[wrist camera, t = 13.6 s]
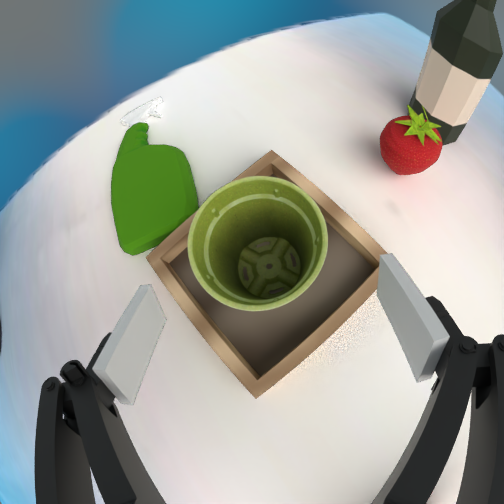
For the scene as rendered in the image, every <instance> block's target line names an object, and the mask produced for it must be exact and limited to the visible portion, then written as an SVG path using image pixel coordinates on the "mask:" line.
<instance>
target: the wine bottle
mask: <svg viewBox="0 0 504 504" xmlns="http://www.w3.org/2000/svg"><path fill="white" fill-rule="evenodd" d="M495 4H496V0H454V1H453V2H451V3H449V4H448V5H446V6H445V7H443V8H441V9H440V10H438V11H437V14H436V18H435V22H434V26H433V30H432V34H431V38H430V42H429V45H428V49H427V52H426V56H425V59H424V62H423V66H422V69H421V72H420V75H419V78H418V81H417V84H416V87H415V90H414V93H413V96H412V99H411V102H410V104H409V106H410V107H411V108H412V110H413V111H414V112H415V113H416V114H417V115H420V114H421V113H423V116H424V119H425V120H427V118H428V121H429V122H431V123H434V124H437V125H439V126H441V127H438V128H436V129H437V131H438V132H439V134H440V136H441V138H442V146H443V145H446V144H449V143H452V142H455V141H456V140H457V138H458V137H459V135H460V133H461V132H462V130H463V129H464V127H465V125H466V124H467V122H468V120H469V119H470V117H471V115H472V113H473V112H474V110H475V108H476V106H477V105H478V103H479V101H480V99H481V97H482V95H483V94H484V92H485V90H486V88H487V86H488V84H489V82H490V80H491V78H492V76H493V74H494V72H495V70H496V68H497V66H498V64H499V61H500V59H501V57H502V54H503V53H502V47H501V43H500V38H499V34H498V30H497V25H496V21H495V18H494V14H493V11H494V7H495ZM422 106H423V107H424V110H425V112H426V115H427V118H426V115H425V112H424V110H423V107H422ZM408 116H409V111H408Z"/></svg>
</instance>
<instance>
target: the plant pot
mask: <svg viewBox="0 0 504 504" xmlns="http://www.w3.org/2000/svg"><path fill="white" fill-rule="evenodd" d="M263 242H270V244H269V245H265V246H261V247H259V248H257V245H258V244H261V243H263ZM327 248H328V233H327V227H326V223H325V220H324V217H323V215H322V213H321V211H320V209H319V207H318V206H317V204H316V203H315V201H314V200H313V199H312V198H311V197H310V196H309V195H308V194H307V193H306V192H305V191H304V190H302V189H301V188H300V187H298V186H296V185H295V184H293V183H291V182H289V181H286V180H283V179H280V178H275V177H268V176H251V177H246V178H242V179H239V180H235V181H233V182H230V183H228V184H226V185H225V186H223V187H221V188H219V189H218V190H216V191H215V192H214V193H213V194H211V195H210V196H209V197H208V198H207V200H206V201H205V202H204V203H203V204H202V205H201V207H200V208H199V209H198V211H197V213H196V215H195V217H194V219H193V221H192V223H191V226H190V230H189V235H188V257H189V261H190V265H191V268H192V270H193V273H194V275H195V277H196V278H197V280H198V282H199V283H200V284H201V286H202V287H203V288H204V289H205V290H206V291H207V292H208V293H209V294H210V295H211V296H212V297H214V298H215V299H216V300H218V301H219V302H221V303H223V304H225V305H227V306H230V307H232V308H235V309H239V310H245V311H264V310H270V309H274V308H277V307H280V306H283V305H285V304H287V303H289V302H291V301H293V300H294V299H296V298H297V297H298V296H300V295H301V294H302V293H303V292H304V291H306V290H307V289H308V288H309V287H310V285H311V284H312V283H313V282H314V280H315V279H316V277H317V276H318V274H319V272H320V271H321V268H322V266H323V264H324V261H325V258H326V255H327ZM290 253H291V254H292V255H293V256H294V257H295V260H296V267H293V263H292V259H291V256H290ZM267 264H271V265H272V268H271V269H267V267H266V266H267ZM244 267H246V270H247V275H248V277H249V280H248V281H247V280H245V278H244V274H243V268H244ZM281 287H283V290H282V291H280V292H277V293H275V294H271V293H269V291H271V290H276V289H279V288H281Z"/></svg>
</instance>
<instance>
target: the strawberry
mask: <svg viewBox="0 0 504 504" xmlns="http://www.w3.org/2000/svg"><path fill="white" fill-rule="evenodd" d="M407 107H408V111H409V116H401V117H398V118H395V119H393V120H391V121H390V122H389V123H388V124H387V125H386V126H385V128H384V130H383V131H382V133H381V135H380V149H381V155H382V158H383V159H384V161H385V162H386V164H387V165H388V166H389V167H390V169H391V170H393V171H394V172H395V173H396V174H399V175H410V174H416V173H420V172H422V171H424V170H426V169H427V168H428V167H430V166H431V165H433V164H434V163H435V162H436V161H437V160H438V158H439V156H440V153H441V149H442V138H441V136H440V134H439V132H438V131H437V129H436V128H438V127H441V126H439V125H437V124H434V123H431V122H429V121H428V118H427V115H426V112H425V110H424V107H423V106H422V107H423V110H424V112H425V115H426V118H427V120H425V119H424V116H423V113H421V114H420V115H417V114H416V113H415V112H414V111H413V110H412V108H411V107H410V106H409V105H407Z"/></svg>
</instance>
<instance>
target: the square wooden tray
mask: <svg viewBox="0 0 504 504" xmlns="http://www.w3.org/2000/svg"><path fill="white" fill-rule="evenodd" d="M251 176H268V177H275V178H280V179H283V180H286V181H289V182H291V183H293V184H295V185H296V186H298V187H300V188H301V189H302V190H304V191H305V192H306V193H307V194H308V195H309V196H310V197H311V198H312V199H313V200H314V201H315V203H316V204H317V206H318V207H319V209H320V211H321V213H322V215H323V217H324V220H325V223H326V227H327V233H328V248H327V255H326V258H325V261H324V264H323V266H322V268H321V271H320V272H319V274H318V276H317V277H316V279H315V280H314V282H313V283H312V284H311V285H310V287H309V288H308V289H307V290H306V291H304V292H303V293H302V294H301V295H300V296H298V297H297V298H296V299H294V300H293V301H291V302H289V303H287V304H285V305H283V306H280V307H277V308H274V309H270V310H264V311H245V310H239V309H235V308H232V307H230V306H227V305H225V304H223V303H221V302H219V301H218V300H216V299H215V298H214V297H212V296H211V295H210V294H209V293H208V292H207V291H206V290H205V289H204V288H203V287H202V286H201V284H200V283H199V282H198V280H197V278H196V277H195V275H194V273H193V270H192V268H191V265H190V261H189V257H188V235H189V230H190V226H191V223H192V221H193V219H194V217H195V215H196V213H197V211H198V210H197V211H196V212H195V213H194V214H193V215H191V216H190V217H189V218H188V219H187V220H186V221H185V222H184V223H182V224H181V225H180V226H179V227H178V228H177V229H176V230H175V231H174V232H172V233H171V234H170V235H169V236H168V237H167V238H166V239H165V240H164V241H163V242H162V243H160V244H159V245H158V246H157V247H156V248H155V249H154V250H153V251H152V252H151V253H150V254H149V255H148V256H147V257H146V259H147V260H148V262H149V263H150V265H151V266H152V268H153V269H154V271H155V272H156V274H157V275H158V277H159V278H160V279H161V281H162V282H163V284H164V285H165V287H166V288H167V289H168V291H169V292H170V294H171V295H172V296H173V298H174V299H175V301H176V302H177V303H178V305H179V306H180V307H181V309H182V310H183V311H184V313H185V314H186V315H187V317H188V318H189V319H190V321H191V322H192V323H193V325H194V326H195V327H196V329H197V330H198V331H199V332H200V334H201V335H202V336H203V338H204V339H205V340H206V341H207V343H208V344H209V345H210V346H211V347H212V349H213V350H214V351H215V352H216V354H217V355H218V356H219V357H220V358H221V360H222V361H223V362H224V363H225V364H226V366H227V367H228V368H229V369H230V370H231V371H232V373H233V374H234V375H235V376H236V377H237V378H238V380H239V381H240V382H241V383H242V384H243V385H244V386H245V387H246V389H247V390H248V391H249V392H250V393H251V394H252V395H253V396H254V397H255V399H256V398H258V397H259V396H260V395H262V394H263V393H264V392H266V391H267V390H268V389H269V388H271V387H272V386H273V385H274V384H276V383H277V382H278V381H279V380H281V379H282V378H283V377H284V376H285V375H287V374H288V373H289V372H290V371H292V370H293V369H294V368H295V367H296V366H297V365H299V364H300V363H301V362H302V361H303V360H304V359H305V358H307V357H308V356H309V355H310V354H311V353H312V352H313V351H315V350H316V349H317V348H318V347H319V346H320V345H321V344H322V343H323V342H324V341H325V340H327V339H328V338H329V337H330V336H331V335H332V334H333V333H334V332H335V331H336V330H337V329H338V328H339V327H340V326H341V325H342V324H343V323H344V322H345V321H346V320H347V319H348V318H349V317H350V316H351V315H352V314H353V313H354V312H355V311H356V310H357V309H358V308H359V307H360V306H361V305H362V304H363V303H364V302H365V301H366V300H367V299H368V298H369V297H370V296H371V295H372V293H373V292H374V291H375V290H376V289H377V286H378V275H379V262H380V255H383V254H388V253H387V252H386V251H385V250H384V249H383V248H382V247H381V246H380V245H379V244H378V243H377V242H376V241H375V240H374V239H373V238H372V237H371V236H370V235H369V234H368V233H367V232H366V231H365V230H364V229H362V228H361V227H360V226H359V225H358V224H357V223H356V222H355V221H354V220H353V219H352V218H351V217H350V216H349V215H348V214H347V213H346V212H344V211H343V210H342V209H341V208H340V207H339V206H338V205H337V204H336V203H335V202H333V201H332V200H331V199H330V198H329V197H328V196H327V195H326V194H324V193H323V192H322V191H321V190H320V189H319V188H318V187H316V186H315V185H314V184H313V183H312V182H311V181H309V180H308V179H307V178H306V177H305V176H303V175H302V174H301V173H300V172H299V171H297V170H296V169H295V168H294V167H293V166H291V165H290V164H289V163H288V162H286V161H285V160H284V159H283V158H281V157H280V156H279V155H278V154H276V153H275V152H274V151H272V150H271V151H269V152H268V153H267V154H266V155H264V156H263V157H262V158H260V159H259V160H258V161H257V162H255V163H254V164H253V165H251V166H250V167H249V168H248V169H246V170H245V171H244V172H243V173H241V174H240V175H239V176H238V177H236V178H235V179H234V180H233V181H235V180H239V179H242V178H246V177H251ZM233 181H232V182H233ZM269 244H270V242H263V243H261V244H258V245H257V248H259V247H261V246H265V245H269ZM290 256H291V259H292V263H293V267H296V260H295V257H294V256H293V255H292V254H291V253H290ZM266 267H267V269H271V268H272V265H271V264H267V266H266ZM243 274H244V278H245V280H247V281H248V280H249V277H248V275H247V270H246V267H244V268H243ZM282 290H283V287H281V288H279V289H276V290H271V291H269V293H271V294H275V293H277V292H280V291H282Z"/></svg>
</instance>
